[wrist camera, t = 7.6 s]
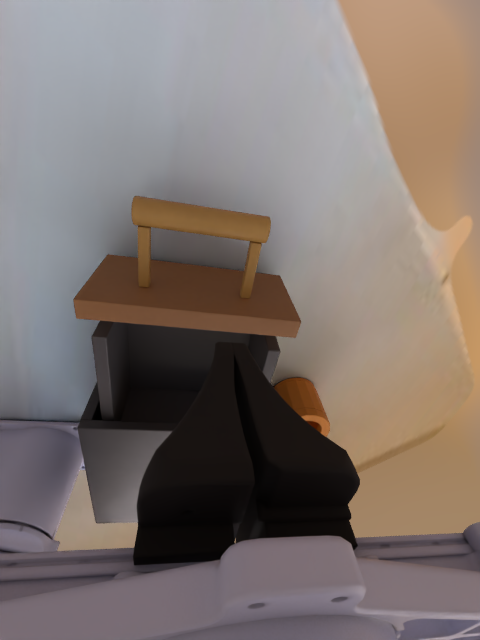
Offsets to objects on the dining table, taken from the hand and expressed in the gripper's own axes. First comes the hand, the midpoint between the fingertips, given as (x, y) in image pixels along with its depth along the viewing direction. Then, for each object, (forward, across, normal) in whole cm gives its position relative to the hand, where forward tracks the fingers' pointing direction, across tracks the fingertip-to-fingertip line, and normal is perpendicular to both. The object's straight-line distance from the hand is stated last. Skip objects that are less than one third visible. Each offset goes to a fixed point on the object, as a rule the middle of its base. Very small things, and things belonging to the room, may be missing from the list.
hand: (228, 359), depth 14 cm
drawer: (+10, +2, +3) cm, 10 cm away
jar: (+10, -9, +13) cm, 19 cm away
